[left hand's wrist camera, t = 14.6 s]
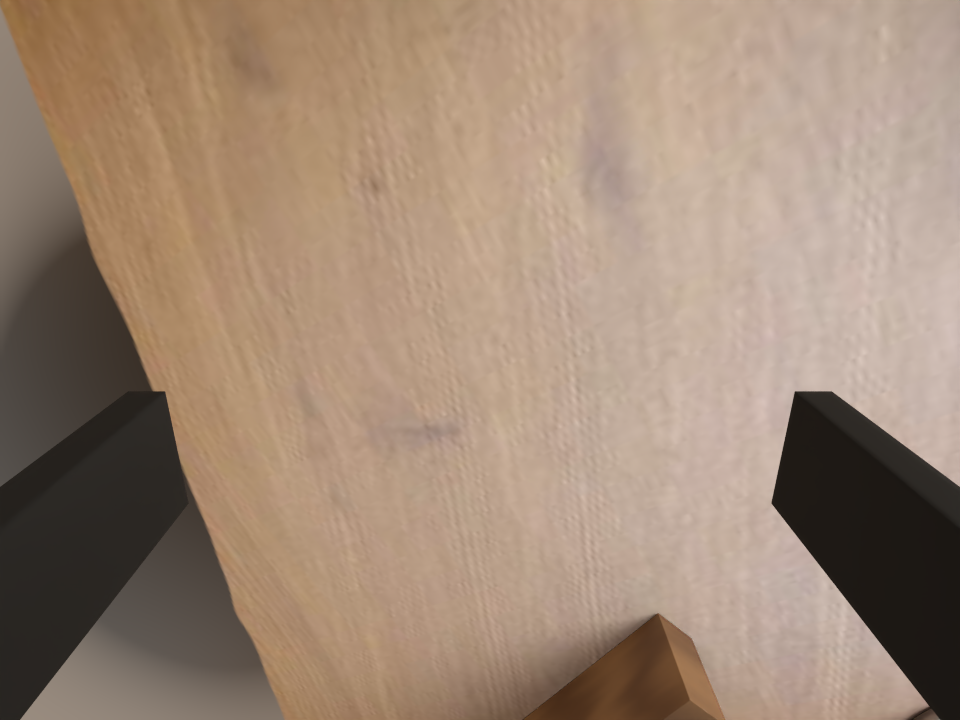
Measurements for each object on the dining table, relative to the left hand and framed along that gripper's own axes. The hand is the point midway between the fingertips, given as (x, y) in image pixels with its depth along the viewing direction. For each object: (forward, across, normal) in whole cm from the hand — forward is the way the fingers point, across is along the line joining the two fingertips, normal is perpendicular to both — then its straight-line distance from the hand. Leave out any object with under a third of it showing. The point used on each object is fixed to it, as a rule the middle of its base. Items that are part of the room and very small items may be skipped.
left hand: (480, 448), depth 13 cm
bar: (+31, +10, -45) cm, 56 cm away
